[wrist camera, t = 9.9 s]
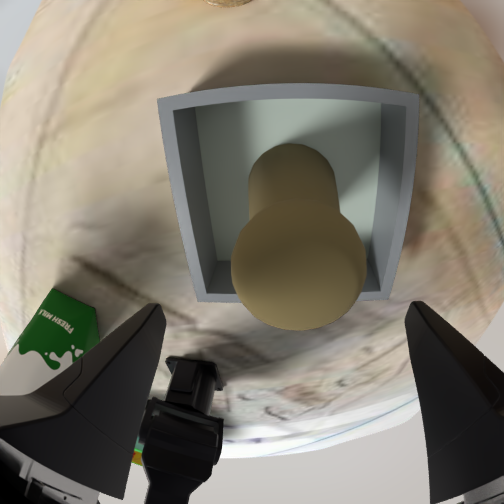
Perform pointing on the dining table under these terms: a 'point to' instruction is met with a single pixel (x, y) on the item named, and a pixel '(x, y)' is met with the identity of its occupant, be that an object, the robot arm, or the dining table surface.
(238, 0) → the sprinkles bottle
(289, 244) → the cork
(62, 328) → the milk carton
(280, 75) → the dining table surface
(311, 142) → the box
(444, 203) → the dining table surface
